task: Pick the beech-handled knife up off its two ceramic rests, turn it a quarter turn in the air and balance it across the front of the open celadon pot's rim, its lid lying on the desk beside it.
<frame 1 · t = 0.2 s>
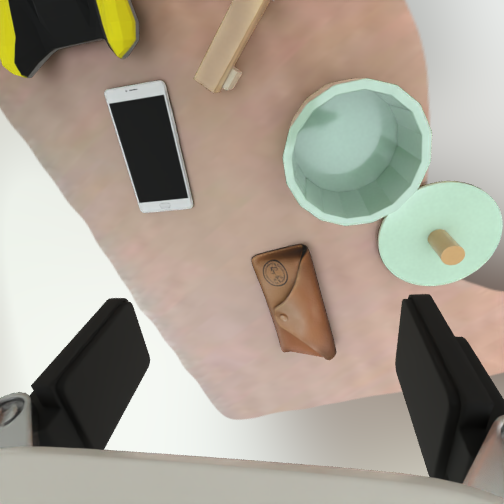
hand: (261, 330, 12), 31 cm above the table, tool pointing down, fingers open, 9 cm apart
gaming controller: (79, 16, 36), on the table
lid: (436, 236, 40), point 1 cm above the table
pot: (344, 142, 37), on the table
sunglasses case: (294, 301, 49), on the table
smartphone: (153, 151, 41), on the table
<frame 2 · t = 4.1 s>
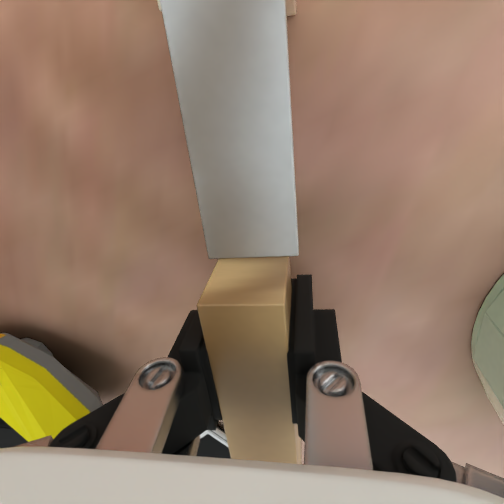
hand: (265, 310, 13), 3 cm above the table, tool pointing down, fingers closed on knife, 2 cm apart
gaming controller: (40, 396, 22), on the table
knife: (255, 265, 11), point 4 cm above the table, touching gripper, knife rests
smartphone: (248, 486, 23), on the table
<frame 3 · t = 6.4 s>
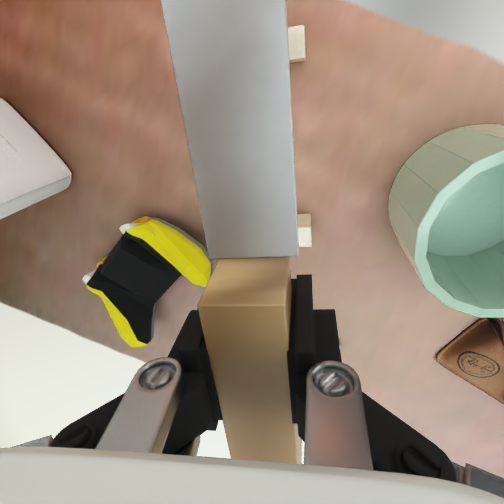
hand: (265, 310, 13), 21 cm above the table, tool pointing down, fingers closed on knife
knife rests: (290, 145, 30), on the table
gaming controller: (156, 265, 38), on the table
photo printer: (33, 146, 34), on the table
pot: (462, 198, 30), on the table
knife: (256, 266, 11), point 22 cm above the table, touching gripper
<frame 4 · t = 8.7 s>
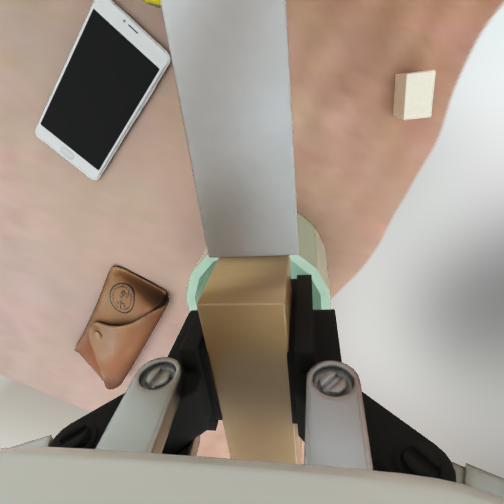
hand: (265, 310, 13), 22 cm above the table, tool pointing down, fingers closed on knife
knife rests: (315, 105, 29), on the table
pot: (267, 258, 37), on the table
knife: (255, 264, 11), point 23 cm above the table, touching gripper
sunglasses case: (121, 323, 45), on the table
smartphone: (101, 98, 32), on the table
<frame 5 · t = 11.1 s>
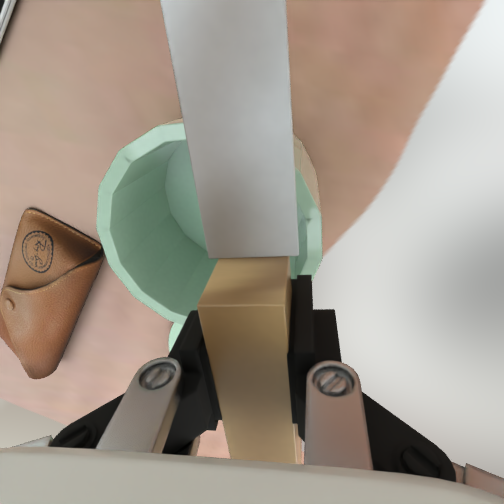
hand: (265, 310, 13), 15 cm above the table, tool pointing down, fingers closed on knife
pot: (235, 193, 26), on the table
knife: (255, 265, 11), point 16 cm above the table, touching gripper
sunglasses case: (49, 291, 34), on the table
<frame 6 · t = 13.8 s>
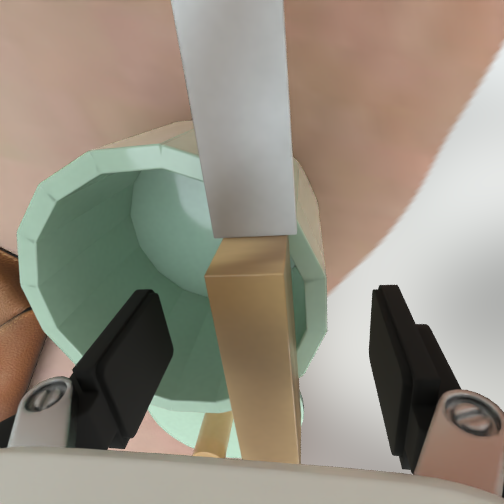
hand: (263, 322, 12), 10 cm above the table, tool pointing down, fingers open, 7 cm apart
lid: (222, 401, 28), point 1 cm above the table
pot: (217, 223, 21), on the table
knife: (257, 245, 12), point 9 cm above the table, touching pot
sunglasses case: (4, 331, 29), on the table
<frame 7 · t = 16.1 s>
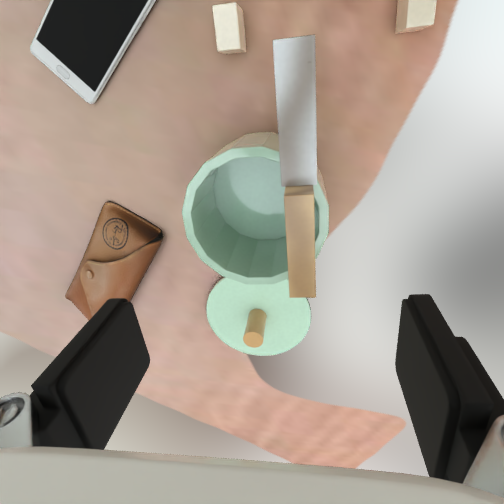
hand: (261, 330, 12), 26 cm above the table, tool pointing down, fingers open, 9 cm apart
knife rests: (318, 21, 29), on the table
lid: (258, 313, 44), point 1 cm above the table
pot: (264, 192, 37), on the table
knife: (299, 190, 27), point 9 cm above the table, touching pot
sunglasses case: (114, 267, 44), on the table
smartphone: (100, 12, 31), on the table
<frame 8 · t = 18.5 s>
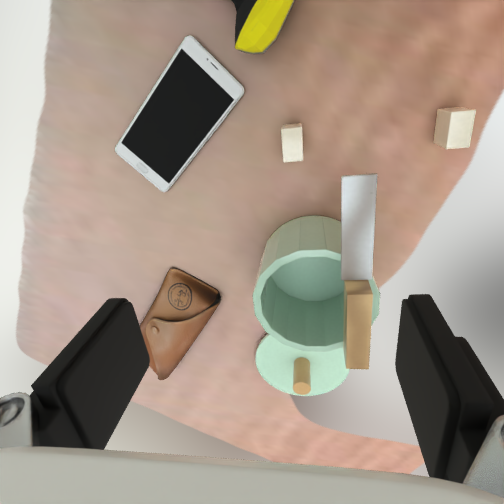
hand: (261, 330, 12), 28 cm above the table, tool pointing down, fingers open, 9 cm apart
knife rests: (366, 132, 34), on the table
lid: (301, 360, 49), point 1 cm above the table
pot: (312, 262, 42), on the table
knife: (355, 282, 32), point 9 cm above the table, touching pot
sunglasses case: (172, 319, 50), on the table
smartphone: (177, 121, 36), on the table
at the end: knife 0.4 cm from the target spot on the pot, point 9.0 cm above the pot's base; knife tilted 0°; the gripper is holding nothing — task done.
